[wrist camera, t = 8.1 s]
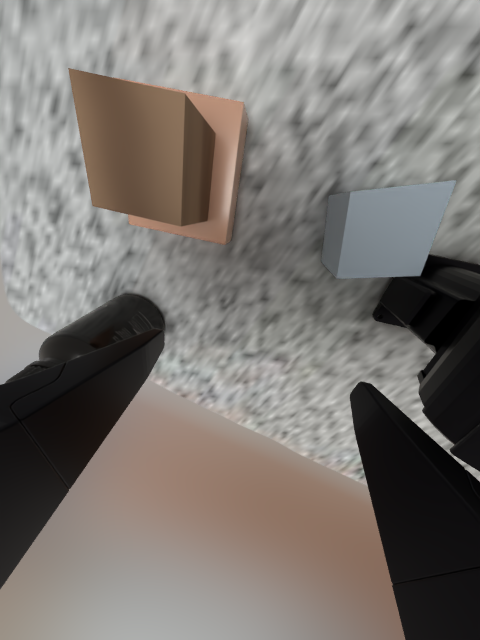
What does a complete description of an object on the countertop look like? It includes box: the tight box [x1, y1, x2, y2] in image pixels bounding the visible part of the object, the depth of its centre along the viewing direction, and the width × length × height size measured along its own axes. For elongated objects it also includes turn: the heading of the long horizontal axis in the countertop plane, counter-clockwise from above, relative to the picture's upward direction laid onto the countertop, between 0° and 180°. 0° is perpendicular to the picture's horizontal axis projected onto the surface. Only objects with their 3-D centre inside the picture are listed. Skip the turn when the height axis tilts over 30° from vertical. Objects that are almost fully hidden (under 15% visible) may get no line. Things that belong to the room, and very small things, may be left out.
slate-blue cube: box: [321, 180, 457, 279], centre depth 14 cm, size 5×5×5 cm
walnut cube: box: [68, 68, 216, 227], centre depth 11 cm, size 5×5×5 cm
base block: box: [116, 78, 248, 245], centre depth 15 cm, size 8×8×3 cm
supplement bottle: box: [6, 294, 164, 383], centre depth 19 cm, size 7×7×12 cm
